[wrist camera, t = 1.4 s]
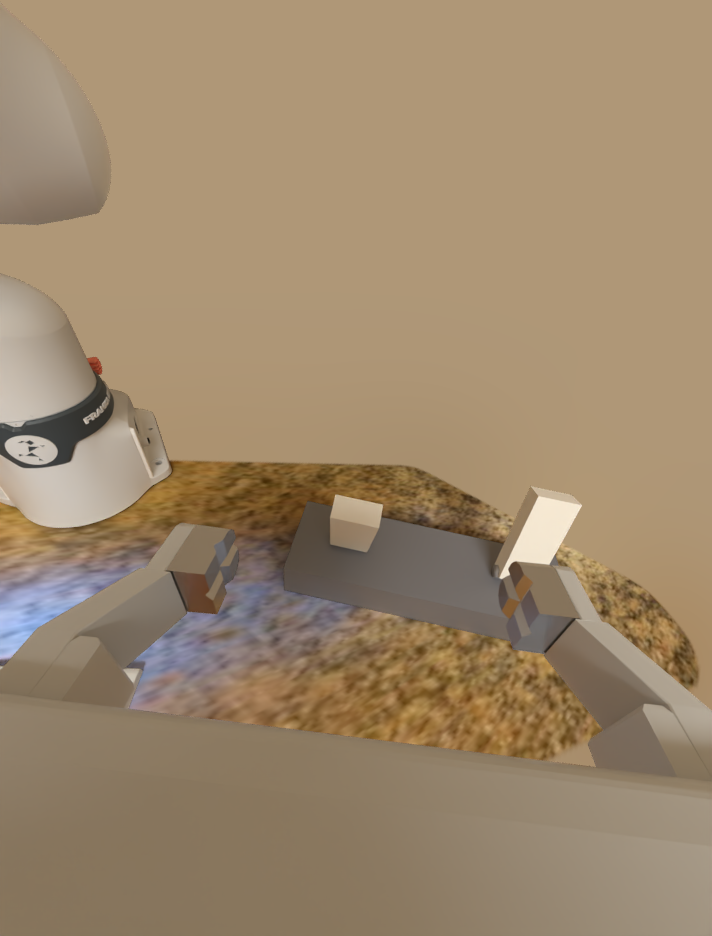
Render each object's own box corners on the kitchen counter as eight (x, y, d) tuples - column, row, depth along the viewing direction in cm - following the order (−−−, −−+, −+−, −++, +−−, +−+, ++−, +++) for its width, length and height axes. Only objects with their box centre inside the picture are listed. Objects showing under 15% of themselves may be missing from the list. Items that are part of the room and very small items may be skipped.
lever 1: (367, 554, 36) (381, 528, 26) (328, 545, 36) (327, 516, 26) (371, 536, 37) (385, 505, 27) (332, 527, 37) (333, 493, 27)
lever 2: (536, 591, 35) (584, 505, 30) (494, 582, 35) (536, 495, 30) (529, 578, 36) (573, 495, 32) (489, 569, 37) (528, 485, 32)
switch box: (551, 650, 36) (580, 633, 32) (284, 590, 37) (283, 567, 33) (533, 575, 42) (556, 554, 39) (306, 525, 43) (307, 499, 39)
